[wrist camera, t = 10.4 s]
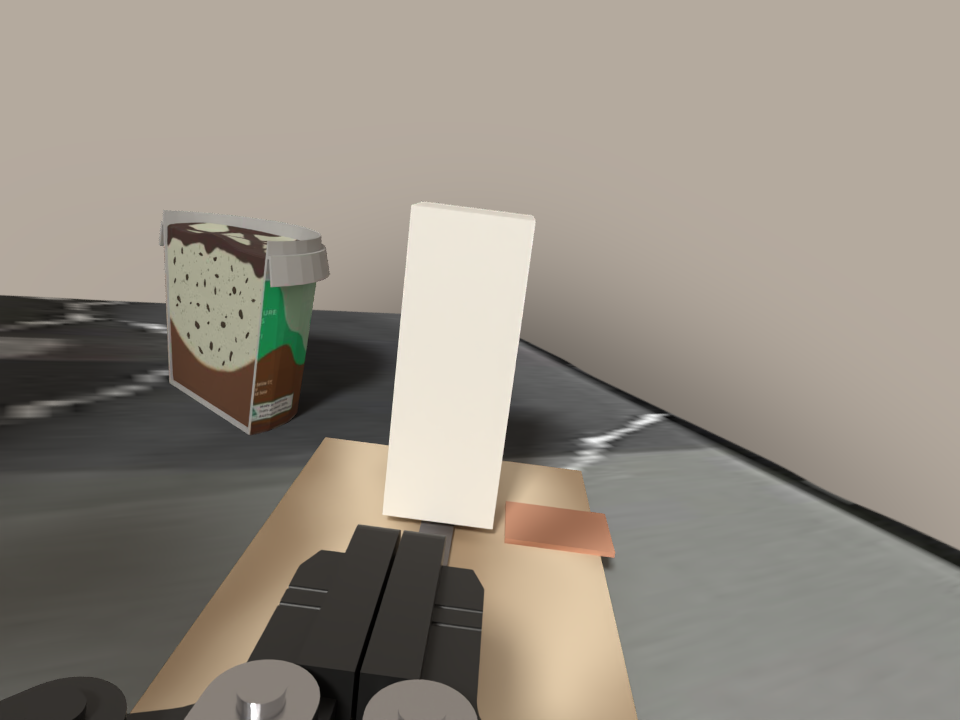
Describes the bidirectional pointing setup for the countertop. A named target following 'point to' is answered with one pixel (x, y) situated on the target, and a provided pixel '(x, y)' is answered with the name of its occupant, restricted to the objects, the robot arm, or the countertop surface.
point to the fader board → (489, 552)
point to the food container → (240, 312)
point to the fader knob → (456, 362)
